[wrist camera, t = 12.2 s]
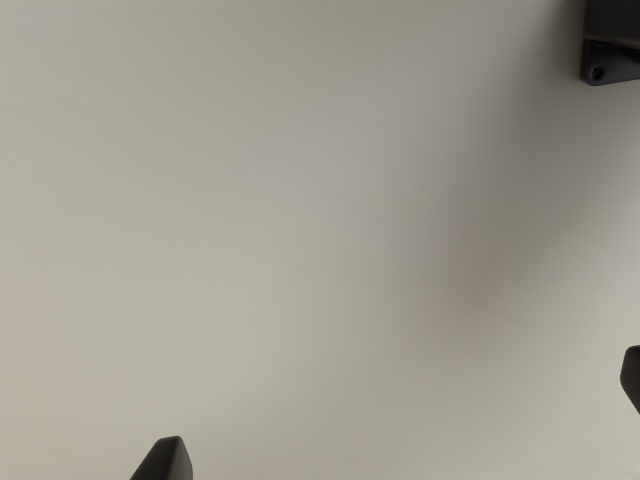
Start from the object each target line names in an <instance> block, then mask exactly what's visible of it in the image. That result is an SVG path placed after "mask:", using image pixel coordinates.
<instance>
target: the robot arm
mask: <svg viewBox="0 0 640 480" xmlns="http://www.w3.org/2000/svg"><path fill="white" fill-rule="evenodd" d="M583 34H584V42H583V51H582V59H581V67H580V79H581V81H582V82H583V83H584V84H587V85H591V86H599V85H605V84H611V83H617V82H623V81H630V80H636V79H640V0H587V4H586V13H585V21H584V29H583ZM596 67H597V69H598V71H597V74H596V75H595V76H594V77H593V78H592V72H593V70H594V69H595V68H596ZM620 382H621V385H622V387H623V389H624V391H625V393H626V394H627V396H628V397H629V399H630V400H631V402H632V404H633V405H634V407H635V408H636V410H637V411H638V413H639V414H640V345H637V346H631V347H629V348H628V349H627V350H626V352H625V356H624V361H623V365H622V370H621V374H620ZM130 480H193V469H192V464H191V461H190V458H189V455H188V453H187V450H186V448H185V445H184V442H183V440H182V438H181V437H180V436H172V437H167V438H162V439H159V440H158V441H157V442H156V443H155V444H154V446H153V447H152V448H151V450H150V451H149V453H148V454H147V456H146V457H145V459H144V460H143V461H142V463H141V464H140V466H139V467H138V469H137V470H136V471H135V473H134V474H133V476H132V477H131V479H130Z"/></svg>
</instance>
